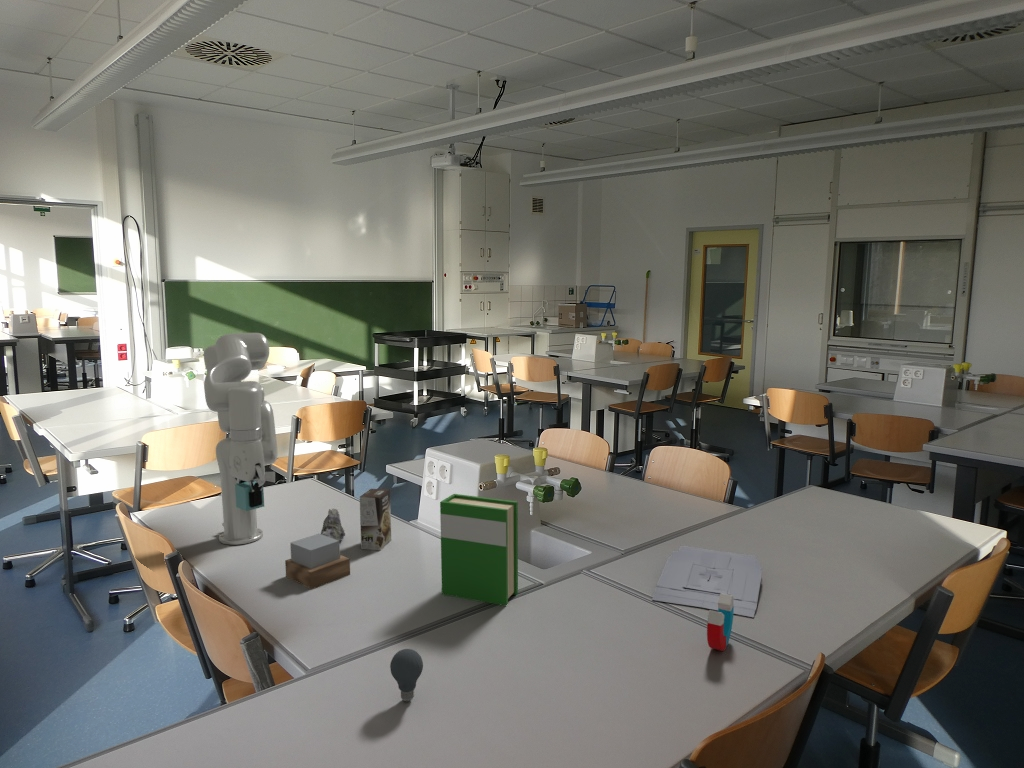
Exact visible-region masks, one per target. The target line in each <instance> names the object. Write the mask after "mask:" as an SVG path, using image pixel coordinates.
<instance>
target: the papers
mask: <svg viewBox="0 0 1024 768" xmlns="http://www.w3.org/2000/svg"><path fill="white" fill-rule="evenodd" d="M762 572H763V568H762V562H761V561H758V556H757V555H752V554H744V553H738V552H737V553H736V552H731V551H730V552H728V551H722V550H717V549H716V550H714V549H707V548H701V547H695V546H687V545H682V544H681V545H680V546H679V548H678V550H676V549H674V550H673V552H672V554H671V555H669V556H668V559H667V560H666V562H665V563H664V567H663V568H662V571H661V575H660V576H659V578H658V581H657V584H656V586H655V588H654V592H653V595H652V599H651V601H656V602H665V603H671V604H677V605H683V606H691V607H696V608H697V607H698V608H703V609H709V610H712V611H718V600H719V597H720V594H721V593H723V594H728V595H732V596H733V600H734V612H733V615H739V616H744V617H750V618H754V617H755V613H756V611H757V607H758V606H757V605H758V601H759V600H758V599H759V594H760V588H761V581H762V574H763V573H762Z"/></svg>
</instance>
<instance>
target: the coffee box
mask: <svg viewBox="0 0 1024 768" xmlns="http://www.w3.org/2000/svg"><path fill="white" fill-rule="evenodd" d="M391 513H392V511H391V489H389V488H369V489H368V490H367V491H366V492H364V493H363V494H362V495H360V496H359V515H360V516H359V521H360V546H361V547H360V549H361V550H371V551H382V550H383V548H384V547H386V546H387V545H388V544H389V543H390V542H391V541H392V515H391Z"/></svg>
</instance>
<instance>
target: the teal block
mask: <svg viewBox="0 0 1024 768" xmlns="http://www.w3.org/2000/svg"><path fill="white" fill-rule="evenodd" d="M255 483H257V481H254V482H253V486H254V484H255ZM261 491H262V505H259V506H255V507H250V506H249V492H250V487H249V482H244V483H239V484H235V492H236V507H238V508H240V509H242V510H244V511H249V510H253V509H256V510H257V509H260V508H264V507H265V497H264V485H263V486H262V490H261Z"/></svg>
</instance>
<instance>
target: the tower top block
mask: <svg viewBox="0 0 1024 768" xmlns="http://www.w3.org/2000/svg"><path fill="white" fill-rule="evenodd" d="M289 546H290V559H291V561H293V562H296V563H298V564H301V565H303V566H305V567H308V568H310V569H313V568H316V567H318V566H321V565H324V564H327V563H329V562H332V561H335V560H338V559H340V555H341V552H340V551H341V550H340V542H339V540H336V539H333V538H330V537H327V536H324V535H322V534H321V533H316V534H313V535H309V536H307V537H305V538H301V539H297V540H295V541H292V542H290V545H289Z"/></svg>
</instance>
